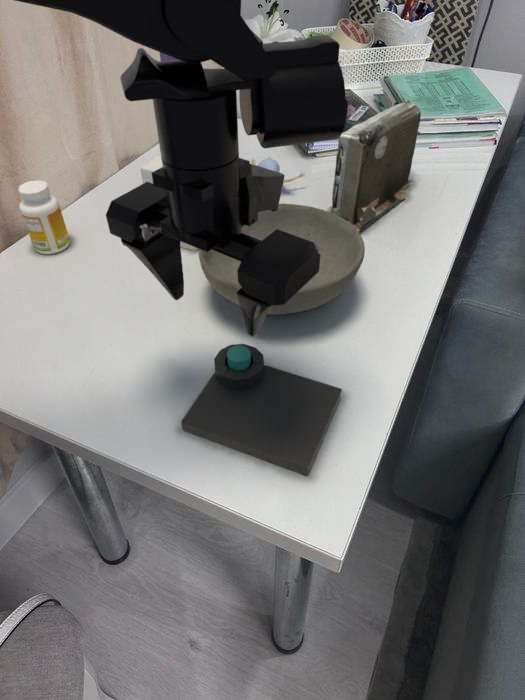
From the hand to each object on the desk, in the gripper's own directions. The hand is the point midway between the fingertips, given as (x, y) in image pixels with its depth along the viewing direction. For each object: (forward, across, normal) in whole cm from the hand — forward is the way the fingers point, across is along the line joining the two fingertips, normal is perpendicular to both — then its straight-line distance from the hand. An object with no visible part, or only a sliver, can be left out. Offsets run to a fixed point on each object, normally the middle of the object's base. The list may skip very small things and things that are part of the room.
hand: (215, 314), depth 49 cm
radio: (+13, +7, -50) cm, 52 cm away
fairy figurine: (+12, +25, -45) cm, 53 cm away
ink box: (+12, +26, -24) cm, 37 cm away
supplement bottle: (+12, +41, -9) cm, 43 cm away
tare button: (+10, 0, -3) cm, 10 cm away
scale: (+12, -5, -1) cm, 13 cm away
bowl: (+12, +6, -20) cm, 24 cm away
